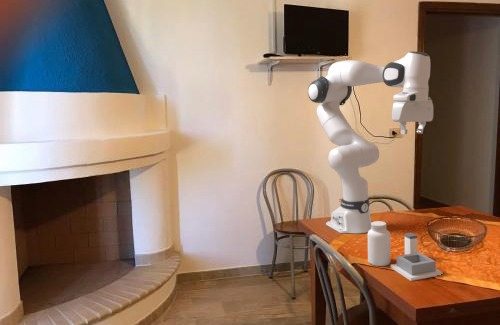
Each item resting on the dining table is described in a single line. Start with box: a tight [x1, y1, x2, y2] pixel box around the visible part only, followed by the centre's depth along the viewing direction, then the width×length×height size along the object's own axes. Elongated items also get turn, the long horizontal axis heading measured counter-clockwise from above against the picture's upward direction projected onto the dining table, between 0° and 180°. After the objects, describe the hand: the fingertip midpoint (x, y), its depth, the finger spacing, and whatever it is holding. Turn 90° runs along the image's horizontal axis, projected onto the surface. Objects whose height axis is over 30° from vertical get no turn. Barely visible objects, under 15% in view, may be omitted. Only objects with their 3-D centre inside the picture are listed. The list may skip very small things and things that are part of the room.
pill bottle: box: [367, 220, 392, 267], centre depth 158 cm, size 8×8×15 cm
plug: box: [404, 232, 419, 255], centre depth 161 cm, size 4×3×9 cm
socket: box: [390, 251, 444, 282], centre depth 149 cm, size 12×12×4 cm
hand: (411, 133), depth 163 cm, fingers open, 8 cm apart
